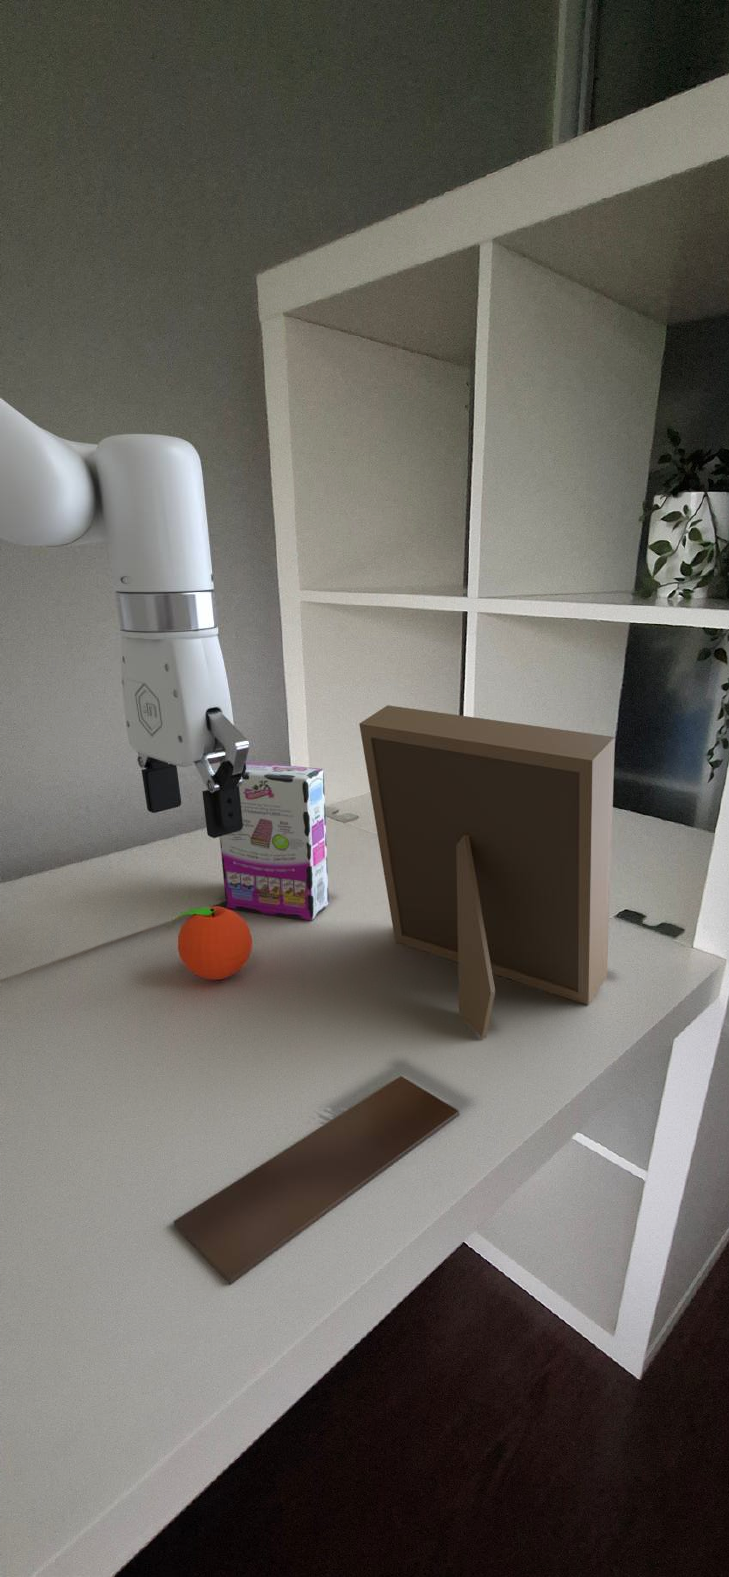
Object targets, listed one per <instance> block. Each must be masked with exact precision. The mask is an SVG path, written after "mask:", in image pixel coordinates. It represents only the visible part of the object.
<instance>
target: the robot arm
mask: <svg viewBox="0 0 729 1577" xmlns="http://www.w3.org/2000/svg"><path fill="white" fill-rule="evenodd" d="M202 469H203V468H202V462H201V458H200V455H199V453H198V451H197V448H195V447H194V445H193V444H191V443H190V442H189V441H187V440H185V439H183V438H180V437H177V436H171V435H166V434H165V435H164V434H153V433H124V434H123V433H122V434H115V435H110V436H108V437H105V438H103V439H101V441H99V442H98V444H96V443H87V442H80V441H79V442H78V441H73V440H68V439H65V438H63V437H59V436H58V435H56V434H54V433H52V432H50V431H48V430H47V429H44V428H42V427H40V426H39V425H37V424H35V423H34V422H32V420H30V419H29V418H28V417H26V416H25V415H24V414H23V413H21V412H20V411H18V410H17V409H16V408H14V407H13V406H12V405H10V404H9V403H8V402H7V401H5V400H4V399H3V398H2V397H0V539H3V540H5V541H7V542H9V543H12V544H16V545H21V546H26V547H48V548H66V547H67V548H68V547H75V546H83V545H87V544H92V543H93V544H94V543H100V542H106V543H107V544H106V545H107V550H108V551H107V552H108V556H109V564H110V569H111V576H112V583H113V590H114V598H115V603H116V611H117V617H118V618H117V619H118V623H119V631H120V672H121V673H120V674H121V675H120V676H121V687H122V697H123V698H122V699H123V707H124V717H125V724H126V731H127V732H126V733H127V739H128V744H129V745H130V747H131V748H132V749H133V750H134V751H135V752H136V753H137V758H136V760H137V764H138V766H139V768H141V774H142V775H141V777H142V783H143V784H142V785H143V790H144V796H145V802H146V804H145V805H146V809H147V811H148V812H150V813H151V814H157V813H160V812H164V811H168V810H172V809H175V808H179V807H181V805H182V796H181V789H180V788H181V787H180V782H179V781H180V780H179V774H178V767H179V768H187V767H190V766H193V764H194V765H195V767H196V770H197V771H198V774H199V775H200V778H201V779H202V781H203V783H204V785H205V787H206V790H202V794H201V795H202V802H203V809H204V818H205V819H204V820H205V827H206V834H207V836H208V837H210V838H212V839H217V838H220V836H224V835H227V834H230V833H234V832H237V831H240V830H241V829H242V828H243V821H242V811H241V801H240V791H239V786H241V785H242V783H243V779H242V776H243V775H244V773H245V771H246V764H245V763H246V762H247V759H248V755H249V750H250V742H249V741H248V739H247V738H246V736H244V734H242V732H241V731H240V730H239V729H238V728H237V727H236V726H235V723H234V716H233V715H234V714H233V707H232V699H231V694H230V687H229V682H228V676H227V671H226V666H225V661H224V657H223V651H222V648H221V645H220V640H219V636H218V634H219V624H218V615H217V613H218V612H217V604H216V603H217V602H216V595H215V590H214V589H215V586H214V575H213V567H212V557H211V555H212V554H211V545H210V544H211V543H210V535H209V526H208V515H207V506H206V505H207V504H206V497H205V496H206V495H205V487H204V478H203V476H204V475H203V470H202ZM218 763H219V766H218V768H217V769H218V770H217V769H216V770H217V771H216V773H214V770H213V768H212V765H214V764H218Z"/></svg>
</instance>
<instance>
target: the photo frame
mask: <svg viewBox="0 0 729 1577" xmlns="http://www.w3.org/2000/svg"><path fill="white" fill-rule="evenodd" d="M359 731H360V737H361V743H362V748H363V755H364V761H365V768H366V773H367V778H368V779H367V780H368V785H369V792H370V797H371V805H372V809H373V815H374V821H375V827H376V828H375V829H376V834H377V840H378V845H379V851H380V857H381V864H382V869H383V875H384V882H385V887H386V893H387V894H386V895H387V899H388V905H389V912H390V918H391V923H392V929H393V930H392V931H393V937H394V942H396V943H398V944H402V945H405V946H408V947H411V948H414V949H417V950H420V951H423V952H426V953H429V954H432V955H435V956H438V957H441V958H445V959H447V960H451V961H453V960H454V961H453V962H456V961H457V962H456V963H457V964H458V965H457V967H458V972H457V973H458V1014H459V1015H460V1016H461V1017H462V1018H463V1019H464V1020H465V1022H467V1024H468V1025H469V1026H470V1027H471V1028H472V1029H473V1030H474V1031H475V1033H477V1035H478V1036H479V1037H480V1038H481V1039H486V1038H487V1036H488V1032H489V1027H490V1022H491V1021H490V1020H491V1016H492V1011H493V1006H494V1003H495V1002H494V1001H495V998H496V988H495V982H494V975H495V974H497V975H496V976H498V975H500V976H499V977H501V976H502V977H501V978H504V977H505V979H507V978H510V979H512V980H511V981H513V980H515V981H514V982H516V983H520V984H523V985H526V984H527V985H526V986H528V987H532V988H534V989H538V990H540V991H543V992H547V993H550V994H553V995H556V996H560V997H562V996H563V997H562V998H565V997H566V998H565V999H567V1000H568V999H569V1000H571V1001H573V1002H574V1001H575V1002H577V1003H581V1004H583V1005H587V1006H589V1005H590V1004H591V1002H592V1001H593V999H594V997H595V996H596V995H597V993H598V992H599V990H600V989H601V987H602V985H603V984H604V982H605V981H606V979H607V977H608V957H609V955H608V954H609V930H610V929H609V928H610V927H609V926H610V925H609V924H610V899H611V898H610V894H611V871H612V870H611V867H612V866H611V865H612V862H611V861H612V840H613V839H612V837H613V836H612V835H613V806H614V778H615V777H614V776H615V749H616V746H615V745H616V737H615V736H612V735H611V736H610V735H603V734H598V733H597V734H596V733H588V732H582V731H576V730H575V731H574V730H568V729H561V728H553V727H546V726H539V725H531V724H524V723H517V722H509V721H502V720H497V719H496V720H495V719H489V718H481V717H476V716H475V717H473V716H467V715H460V714H452V713H446V712H439V711H438V712H437V711H433V710H431V711H430V710H423V709H418V708H417V709H416V708H410V707H402V706H396V705H389V704H388V705H386V706H384V707H382V708H381V709H380V710H378V711H376V712H375V713H373V714H372V715H370V716H369V717H367V718H365V719H364V720H363V721H361V722H359ZM492 973H494V974H492ZM510 979H509V980H510Z"/></svg>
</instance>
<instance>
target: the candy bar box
mask: <svg viewBox="0 0 729 1577" xmlns="http://www.w3.org/2000/svg"><path fill="white" fill-rule="evenodd" d="M245 764H246V771H245V773H244V775H243V776H242V779H243V783H242V785H241V786H239V791H240V801H241V811H242V821H243V828H242V829H241V830H240V831H237V832H234V833H230V834H227V835H224V836H220V837H219V845H220V856H221V866H222V876H223V877H222V878H223V886H224V888H223V889H224V900H225V908H227V909H229V910H236V911H237V910H238V911H242V912H250V913H256V914H257V913H258V914H265V915H271V916H278V917H285V918H293V919H299V920H306V921H314V920H315V919H316V918H317V917H318V916H319V915H320V914H321V913H322V912H323V911H324V910H326V909H327V907H328V906H329V904H330V899H329V898H330V897H329V896H330V895H329V877H328V876H329V875H328V874H329V872H328V850H327V849H328V847H327V846H328V845H327V825H326V824H327V822H326V803H325V802H326V798H325V797H326V795H325V770H324V768H319V767H307V766H298V765H284V764H271V763H261V762H247V761H246V763H245ZM217 770H218V768H217V769H214V770H213V771H214V773H216V771H217Z"/></svg>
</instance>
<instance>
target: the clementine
mask: <svg viewBox="0 0 729 1577" xmlns="http://www.w3.org/2000/svg"><path fill="white" fill-rule="evenodd" d="M188 915H189V917H188V918H186V920H185V921H184V923H183V924H182V926H181V928H180V930H179V933H178V936H177V951H178V955H179V958H180V959H181V961H182V963H183V964H184V966H185V967H186V969H188V970H189V971H190V972H191V973H193V974H194V975H196V976H197V977H201V978H204V979H206V980H223V979H227V978H229V977H231V976H233V975H234V974H236V973H238V972H239V971H240V970H241V969H243V968H244V966H245V964H246V963H247V962H248V960H249V957H250V955H251V952H252V950H253V937H252V933H251V929H250V926H249V925H248V924H247V922H246V921H245V919H244V918H243V917H242V916H241V915H239V913H238V912H235V911H234V910H232V909H229V908H227V907H223V906H207V907H202V906H201V907H194V908H191V909H189V910H186V911H183V912H181V913H180V914H178V915H177V916H176V919H178V918H180V917H183V916H188ZM173 923H174V921H172V922H171V923H170V926H169V929H168V931H171V929H172V926H173Z"/></svg>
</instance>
